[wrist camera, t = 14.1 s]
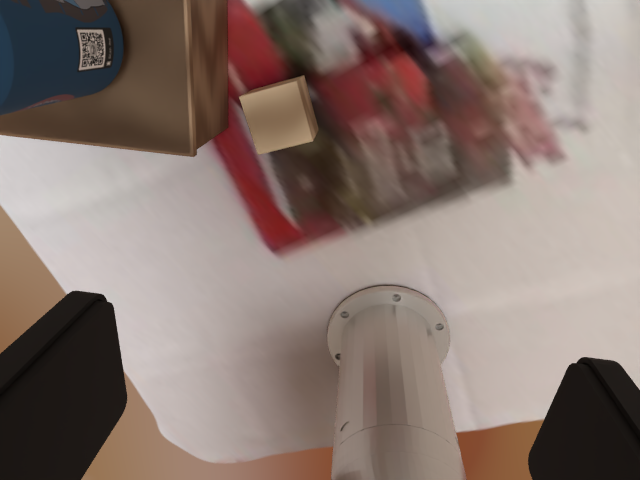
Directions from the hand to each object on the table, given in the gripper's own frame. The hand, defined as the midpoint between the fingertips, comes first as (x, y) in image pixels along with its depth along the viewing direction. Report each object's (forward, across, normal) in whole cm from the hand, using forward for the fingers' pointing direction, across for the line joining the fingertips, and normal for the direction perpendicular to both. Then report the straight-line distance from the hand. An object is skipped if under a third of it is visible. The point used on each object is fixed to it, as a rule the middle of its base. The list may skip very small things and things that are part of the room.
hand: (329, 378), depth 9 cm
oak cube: (+30, +6, 0) cm, 31 cm away
